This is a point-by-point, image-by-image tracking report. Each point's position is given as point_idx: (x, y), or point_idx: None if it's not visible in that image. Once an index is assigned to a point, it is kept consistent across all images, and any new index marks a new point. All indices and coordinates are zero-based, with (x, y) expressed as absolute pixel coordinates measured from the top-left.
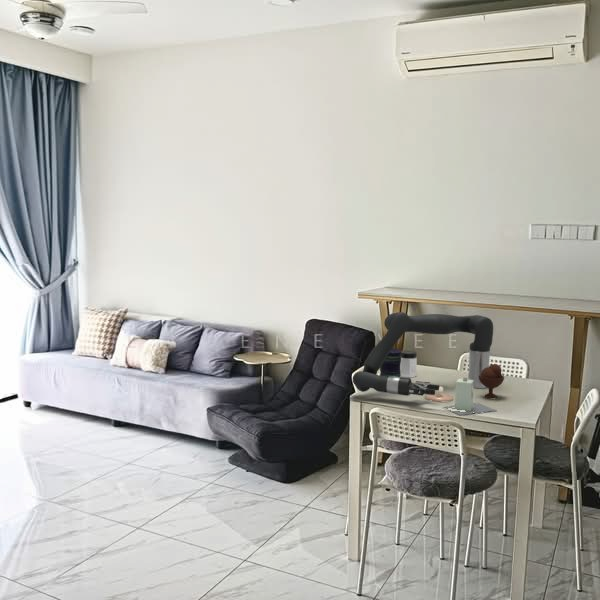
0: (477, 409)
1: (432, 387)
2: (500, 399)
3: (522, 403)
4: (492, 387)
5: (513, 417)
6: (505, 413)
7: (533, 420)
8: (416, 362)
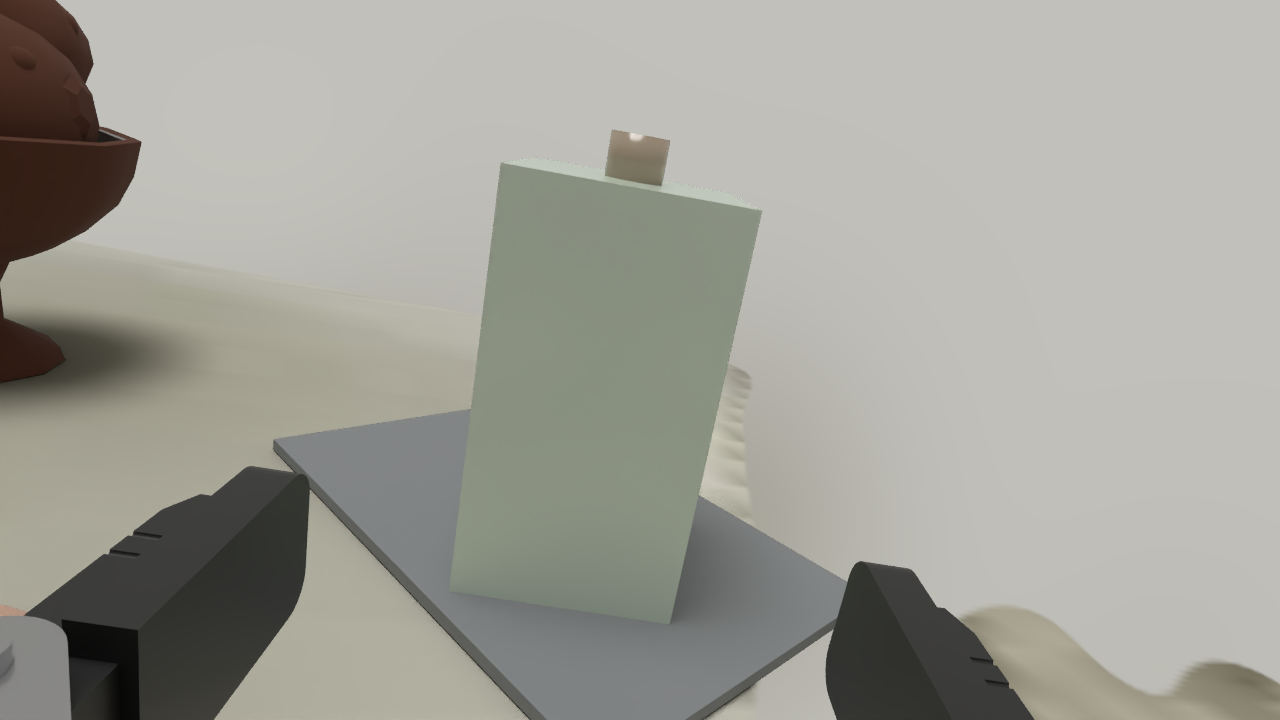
0: None
1: (196, 666)
2: (108, 341)
3: (265, 307)
4: (56, 245)
5: None
6: None
7: None
8: None
